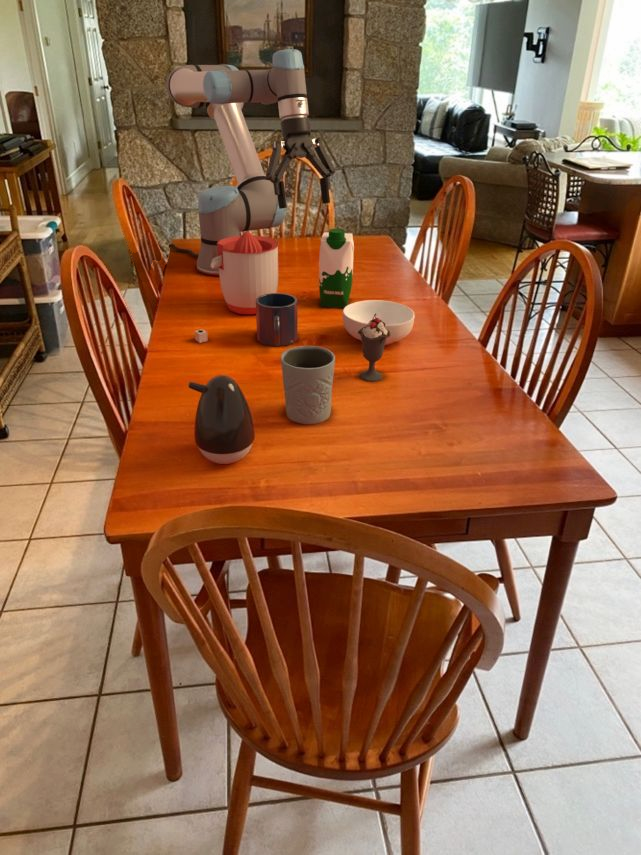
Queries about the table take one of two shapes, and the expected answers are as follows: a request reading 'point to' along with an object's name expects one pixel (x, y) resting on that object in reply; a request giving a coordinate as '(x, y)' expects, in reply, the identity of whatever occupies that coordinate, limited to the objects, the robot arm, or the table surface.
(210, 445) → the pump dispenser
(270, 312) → the mug
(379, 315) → the cereal bowl
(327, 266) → the milk carton
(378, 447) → the table surface
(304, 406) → the grey embossed cup
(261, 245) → the citrus juicer
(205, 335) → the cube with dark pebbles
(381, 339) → the sundae
